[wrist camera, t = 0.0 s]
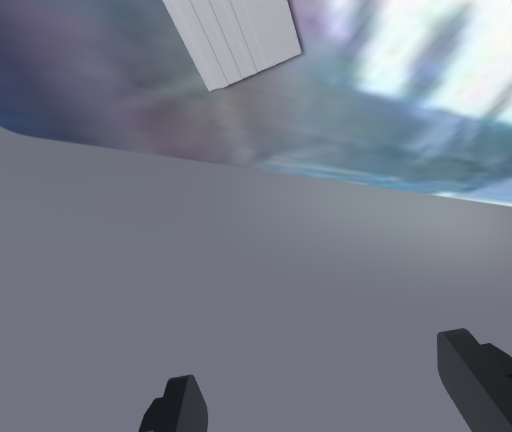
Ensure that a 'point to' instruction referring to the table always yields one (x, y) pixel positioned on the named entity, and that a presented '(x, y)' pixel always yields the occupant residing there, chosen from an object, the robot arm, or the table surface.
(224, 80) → the baseboard molding
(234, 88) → the table surface
